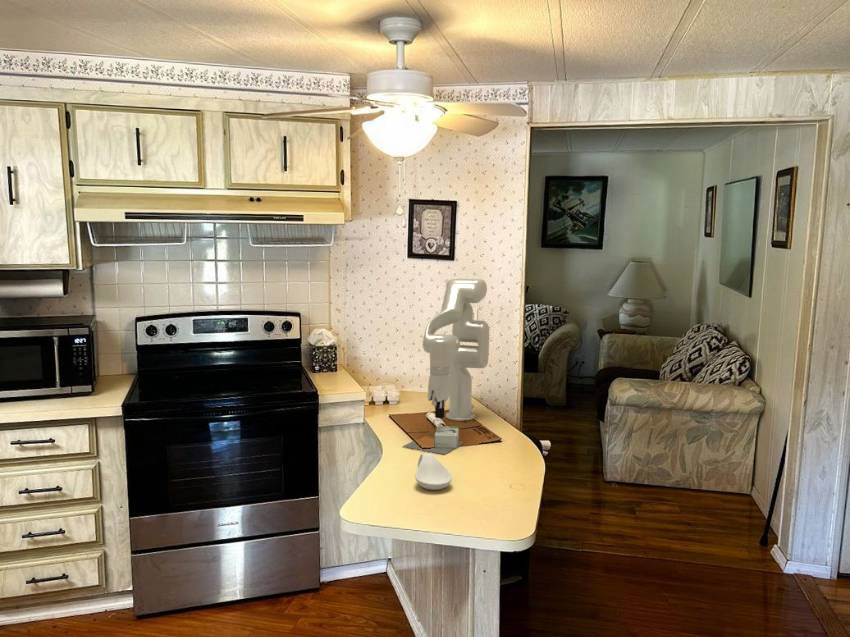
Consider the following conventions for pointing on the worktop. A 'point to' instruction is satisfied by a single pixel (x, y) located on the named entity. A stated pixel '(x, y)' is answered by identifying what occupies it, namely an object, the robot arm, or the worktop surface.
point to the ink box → (446, 436)
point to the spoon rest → (432, 473)
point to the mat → (434, 450)
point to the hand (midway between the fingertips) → (439, 417)
